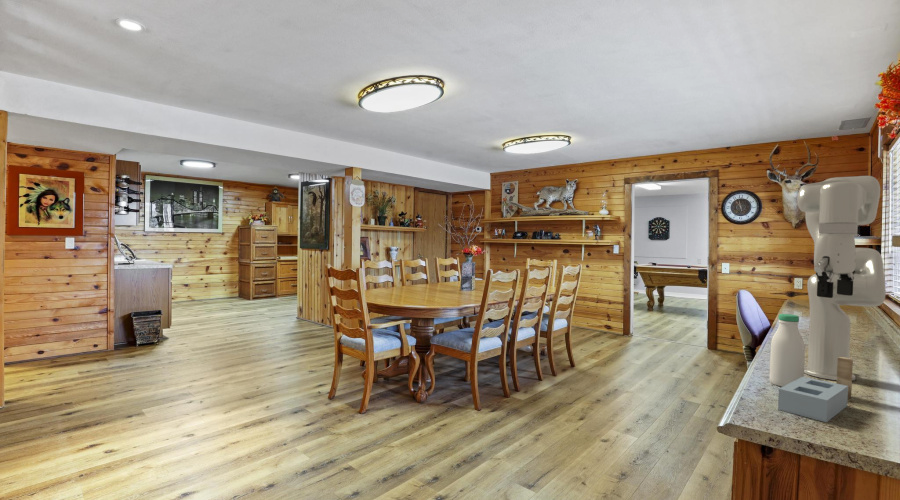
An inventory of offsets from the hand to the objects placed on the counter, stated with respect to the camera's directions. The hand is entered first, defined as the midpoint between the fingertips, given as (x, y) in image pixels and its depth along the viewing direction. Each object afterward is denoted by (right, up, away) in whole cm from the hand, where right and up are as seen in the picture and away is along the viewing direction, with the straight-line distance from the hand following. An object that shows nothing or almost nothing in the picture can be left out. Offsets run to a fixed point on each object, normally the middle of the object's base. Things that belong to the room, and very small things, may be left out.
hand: (834, 296), depth 114 cm
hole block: (-12, -27, -7) cm, 30 cm away
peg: (+4, -27, +2) cm, 27 cm away
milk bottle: (-5, -27, +10) cm, 29 cm away
